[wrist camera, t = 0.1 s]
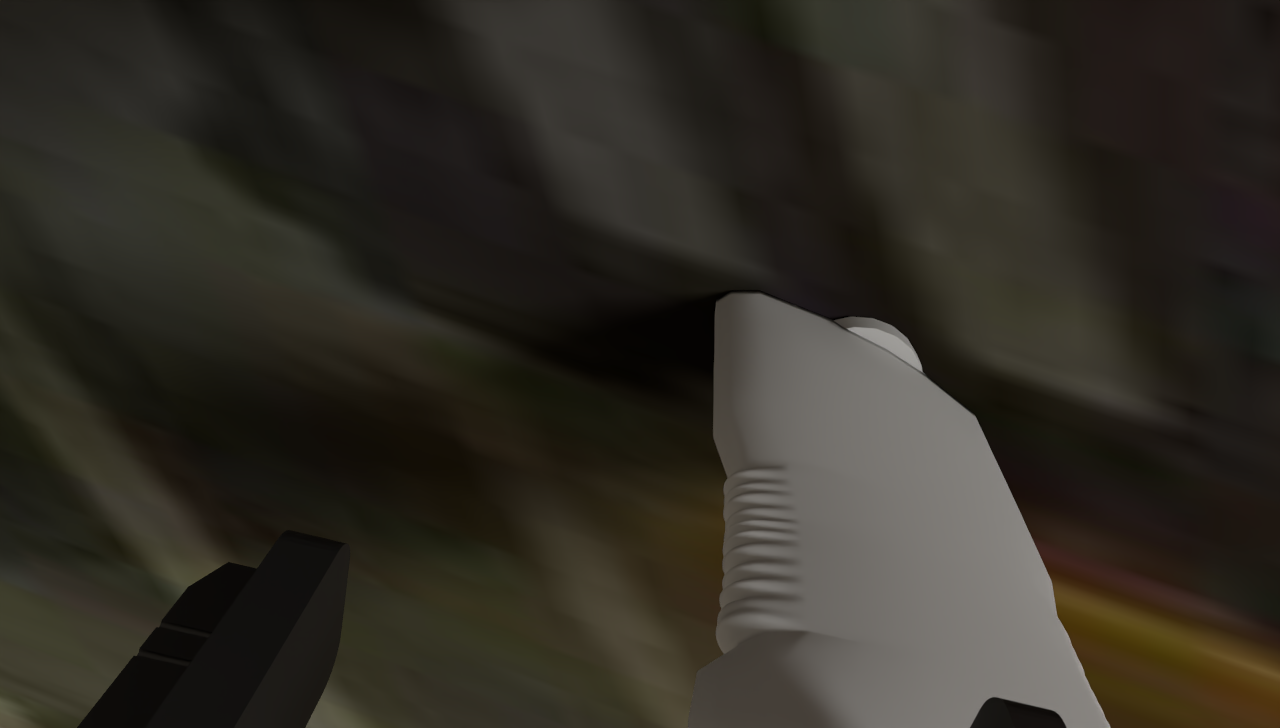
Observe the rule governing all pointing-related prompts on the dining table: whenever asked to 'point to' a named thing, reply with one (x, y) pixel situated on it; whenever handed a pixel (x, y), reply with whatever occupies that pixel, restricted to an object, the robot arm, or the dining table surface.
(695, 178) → the dining table surface
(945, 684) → the tall pale column
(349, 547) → the robot arm
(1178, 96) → the dining table surface
